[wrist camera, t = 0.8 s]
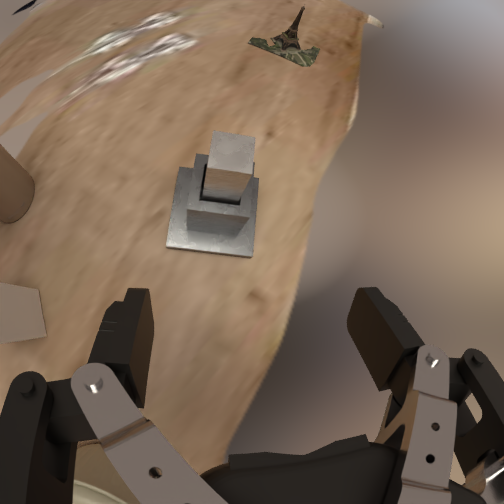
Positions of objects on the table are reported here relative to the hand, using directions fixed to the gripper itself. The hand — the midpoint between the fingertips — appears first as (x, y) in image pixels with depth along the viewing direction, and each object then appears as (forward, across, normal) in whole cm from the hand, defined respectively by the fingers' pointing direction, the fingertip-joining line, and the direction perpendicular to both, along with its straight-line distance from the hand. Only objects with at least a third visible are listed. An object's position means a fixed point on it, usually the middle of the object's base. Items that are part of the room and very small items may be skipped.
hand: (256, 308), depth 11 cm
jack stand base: (+32, +1, +9) cm, 34 cm away
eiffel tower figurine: (+60, -13, -22) cm, 65 cm away
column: (+31, +1, +7) cm, 32 cm away
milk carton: (+21, +30, +20) cm, 42 cm away
